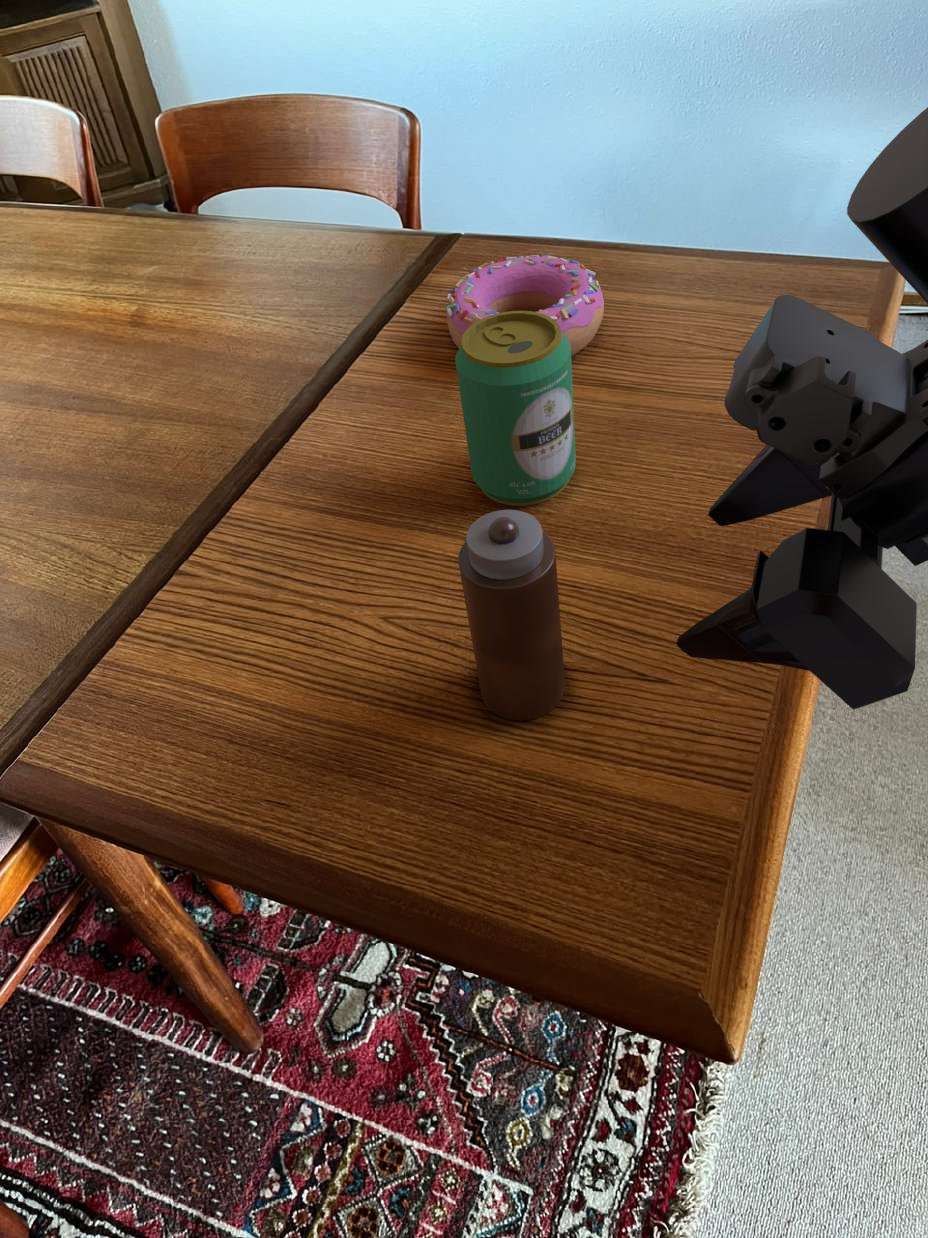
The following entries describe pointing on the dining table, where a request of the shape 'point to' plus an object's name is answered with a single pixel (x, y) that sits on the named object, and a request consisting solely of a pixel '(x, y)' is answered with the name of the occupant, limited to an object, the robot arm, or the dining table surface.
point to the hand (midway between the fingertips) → (699, 579)
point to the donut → (529, 295)
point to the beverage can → (518, 406)
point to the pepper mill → (513, 614)
